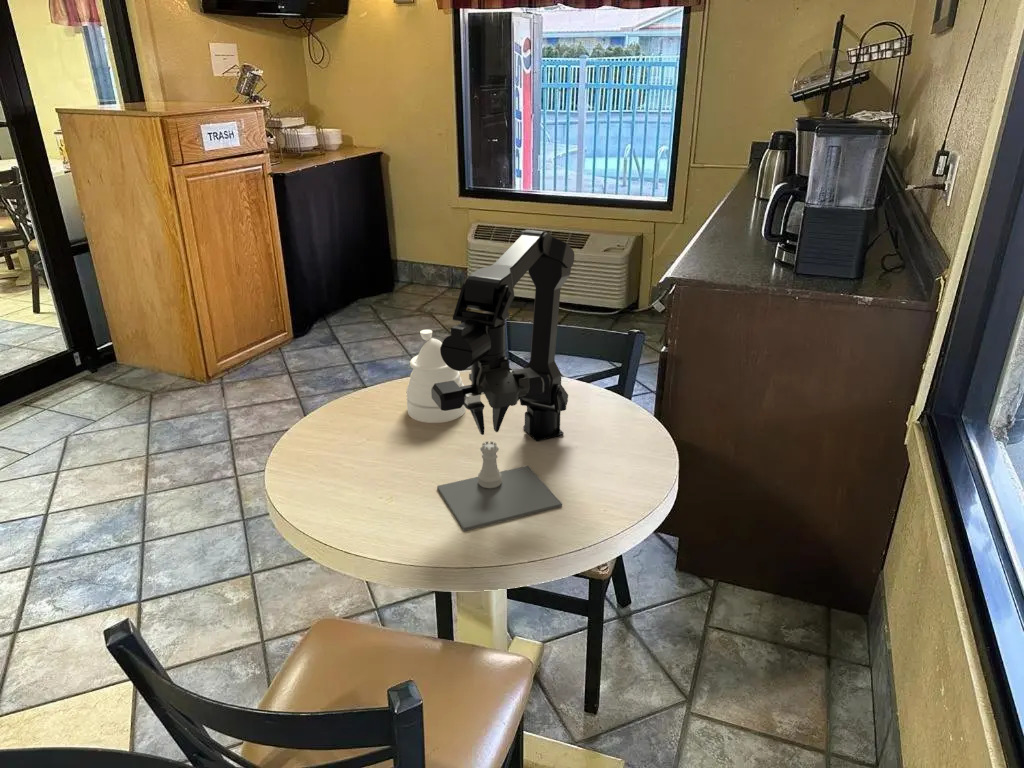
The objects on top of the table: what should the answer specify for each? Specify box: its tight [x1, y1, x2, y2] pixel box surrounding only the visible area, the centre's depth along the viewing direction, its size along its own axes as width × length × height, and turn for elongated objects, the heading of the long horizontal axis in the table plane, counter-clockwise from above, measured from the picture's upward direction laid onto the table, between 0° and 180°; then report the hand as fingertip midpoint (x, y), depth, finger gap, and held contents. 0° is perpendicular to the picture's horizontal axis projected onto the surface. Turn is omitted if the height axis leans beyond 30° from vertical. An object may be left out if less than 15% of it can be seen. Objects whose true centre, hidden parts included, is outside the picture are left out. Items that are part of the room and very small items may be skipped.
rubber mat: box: [437, 465, 563, 532], centre depth 126 cm, size 18×14×1 cm
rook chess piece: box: [477, 440, 502, 489], centre depth 128 cm, size 4×4×8 cm
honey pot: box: [406, 329, 467, 424], centre depth 155 cm, size 13×13×18 cm
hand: (489, 432), depth 125 cm, fingers closed
